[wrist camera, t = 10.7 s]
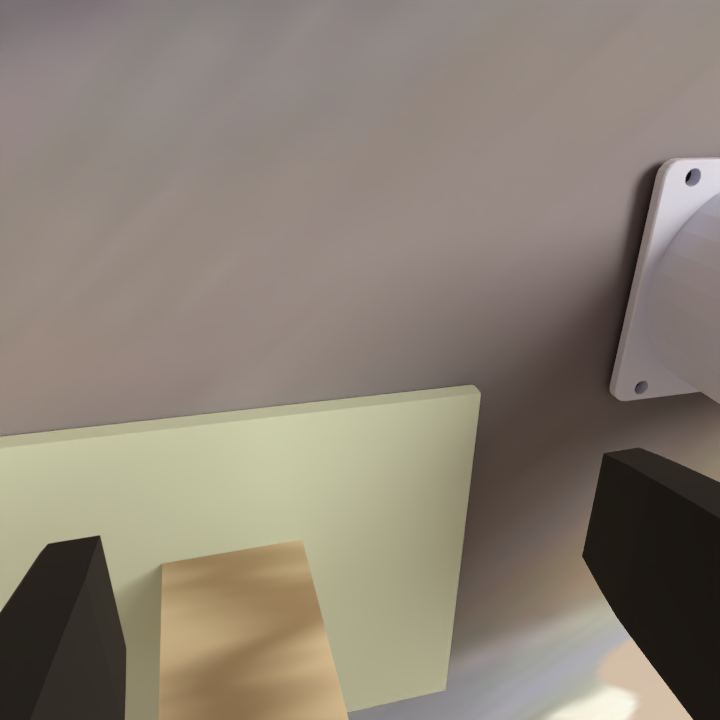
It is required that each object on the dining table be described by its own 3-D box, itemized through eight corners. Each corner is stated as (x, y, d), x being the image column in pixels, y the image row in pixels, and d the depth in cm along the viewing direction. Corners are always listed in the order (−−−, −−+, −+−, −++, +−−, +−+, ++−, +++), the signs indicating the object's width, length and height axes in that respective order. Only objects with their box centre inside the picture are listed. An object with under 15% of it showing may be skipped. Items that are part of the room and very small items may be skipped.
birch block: (302, 539, 21) (355, 743, 15) (306, 634, 23) (354, 849, 17) (162, 563, 20) (156, 794, 14) (179, 660, 22) (180, 900, 16)
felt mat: (473, 384, 20) (481, 393, 20) (440, 677, 27) (445, 690, 26) (-88, 446, 17) (-96, 459, 16) (25, 771, 23) (21, 788, 22)
